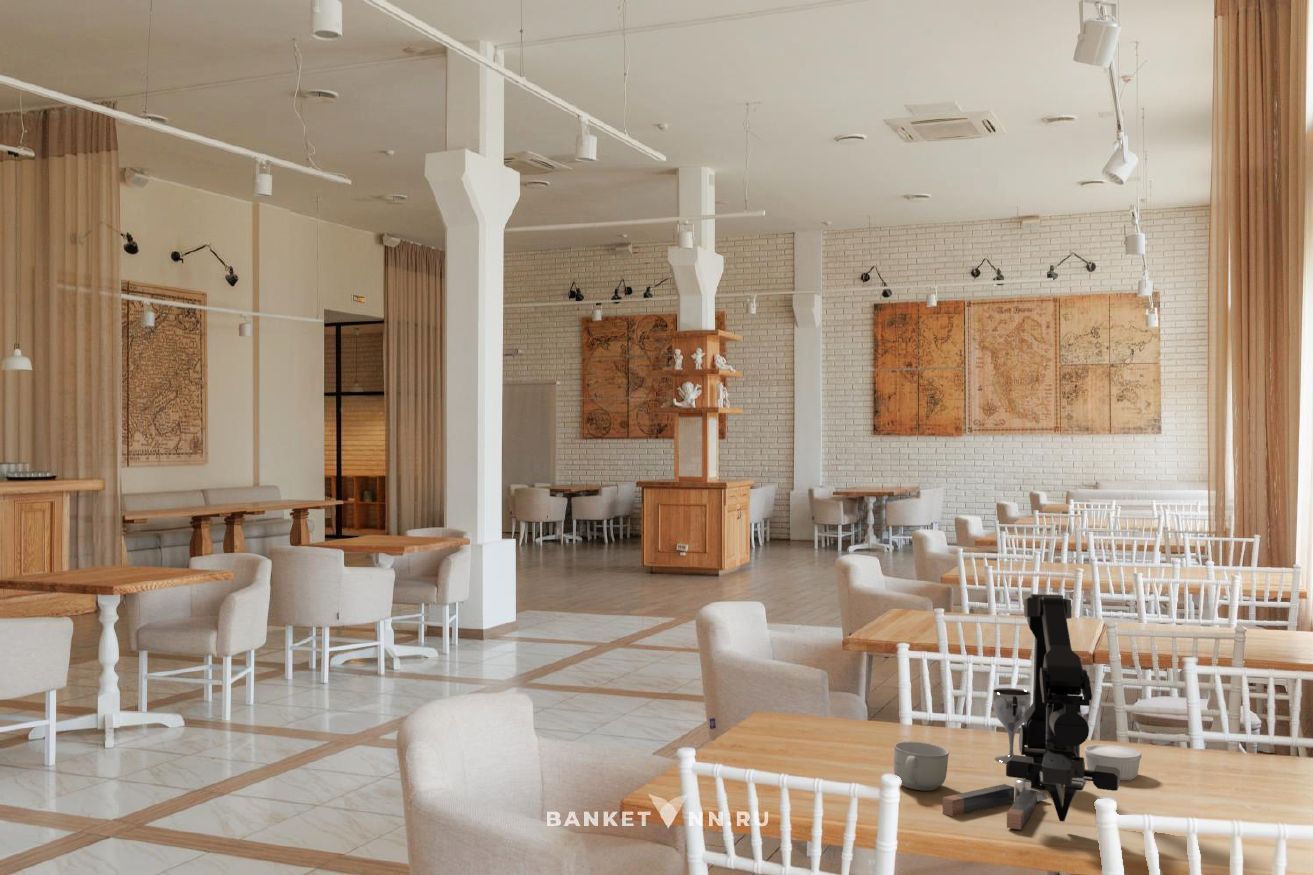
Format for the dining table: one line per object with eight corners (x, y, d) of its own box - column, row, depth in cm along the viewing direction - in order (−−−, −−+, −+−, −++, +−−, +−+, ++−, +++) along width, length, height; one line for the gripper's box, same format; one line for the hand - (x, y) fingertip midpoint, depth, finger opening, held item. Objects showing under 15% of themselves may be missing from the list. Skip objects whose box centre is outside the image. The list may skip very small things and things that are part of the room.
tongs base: (1024, 794, 227) (1024, 774, 227) (1047, 801, 222) (1047, 780, 222) (942, 813, 214) (942, 791, 214) (964, 821, 210) (964, 798, 210)
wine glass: (1038, 762, 251) (1038, 693, 251) (1008, 766, 248) (1008, 696, 248) (1014, 753, 258) (1014, 687, 258) (985, 757, 255) (985, 689, 256)
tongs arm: (1023, 802, 220) (1023, 788, 220) (1036, 804, 219) (1036, 790, 219) (1006, 827, 205) (1006, 812, 205) (1020, 829, 204) (1020, 814, 204)
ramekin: (1089, 765, 250) (1089, 741, 250) (1144, 773, 244) (1145, 748, 244) (1079, 777, 240) (1079, 752, 240) (1136, 785, 234) (1136, 759, 234)
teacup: (908, 776, 239) (909, 737, 239) (957, 786, 232) (958, 746, 232) (876, 790, 228) (876, 750, 229) (926, 801, 222) (926, 759, 222)
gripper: (1000, 735, 202) (999, 825, 202) (1114, 749, 194) (1113, 842, 193) (1011, 723, 212) (1011, 808, 212) (1120, 735, 203) (1120, 824, 203)
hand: (1062, 820), depth 205 cm, fingers closed
